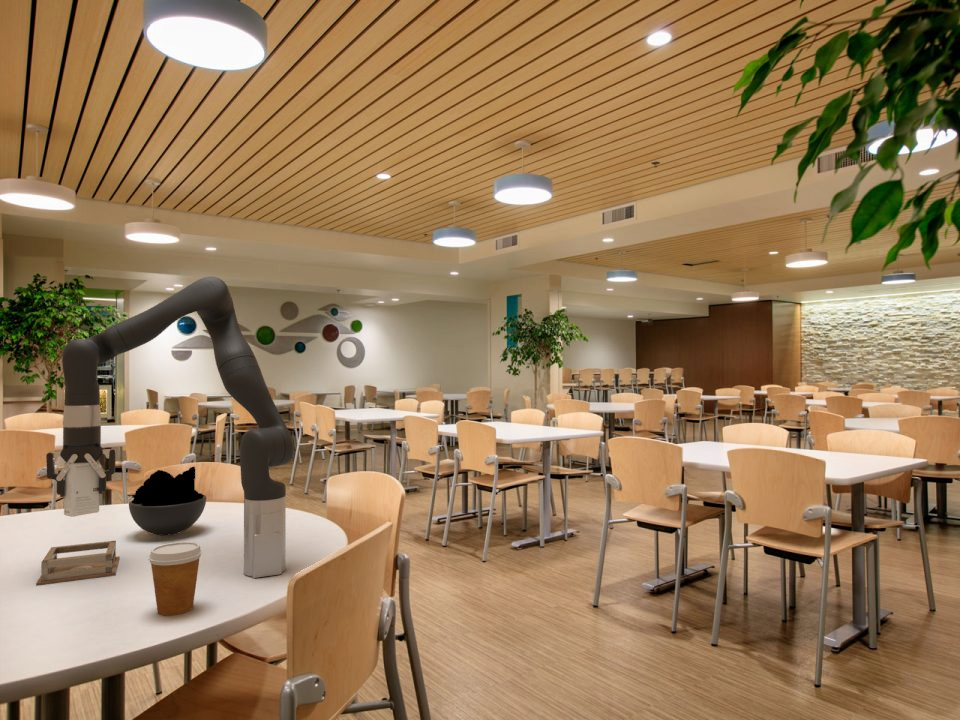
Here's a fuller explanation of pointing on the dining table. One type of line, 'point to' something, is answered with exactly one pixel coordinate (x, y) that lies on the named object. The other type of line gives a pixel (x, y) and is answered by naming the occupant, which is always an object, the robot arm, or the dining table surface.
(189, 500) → the bowl of black rocks
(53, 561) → the shallow wooden tray
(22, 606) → the dining table surface
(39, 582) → the walnut board
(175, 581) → the disposable coffee cup
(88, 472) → the skincare box
